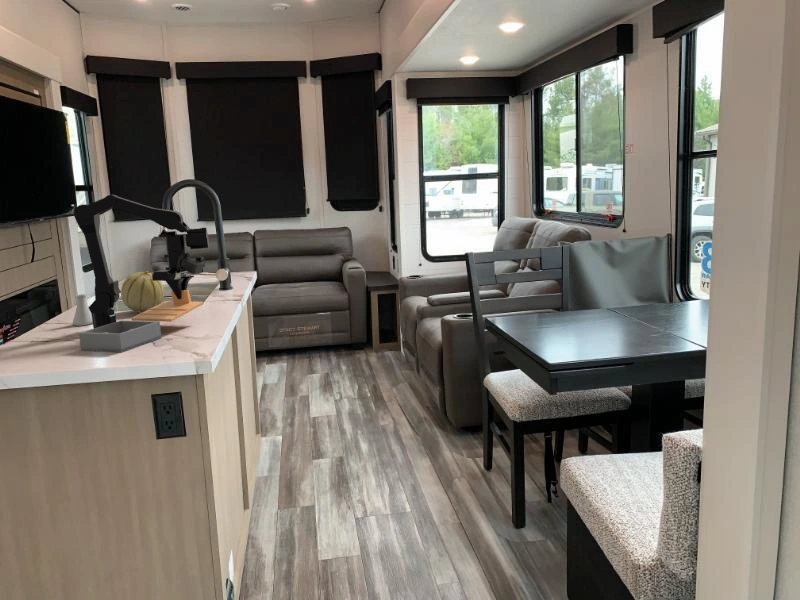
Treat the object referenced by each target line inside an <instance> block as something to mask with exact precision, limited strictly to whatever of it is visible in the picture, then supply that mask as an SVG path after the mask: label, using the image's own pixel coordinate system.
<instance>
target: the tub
mask: <svg viewBox="0 0 800 600" xmlns="http://www.w3.org/2000/svg"><path fill="white" fill-rule="evenodd" d="M160 322H161V321H132V320H118V321H116V322H114V323H111V324H107V325H104V326H101V327H97V328H91V329H88V330H87V329H86V330H83V331H80V332H78V339H79V345H80V346H79V347H80V351H83V352H84V351H85V352H102V353H103V352H104V353H106V352H107V353H108V352H109V353H125V352H127V351H129V350H133V349H136V348H138V347H140V346H144V345H147V344H149V343H152V342H154V341H155V342H156V341H157V340H160V339H162V332H161V331H162V330H161V323H160Z"/></svg>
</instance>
